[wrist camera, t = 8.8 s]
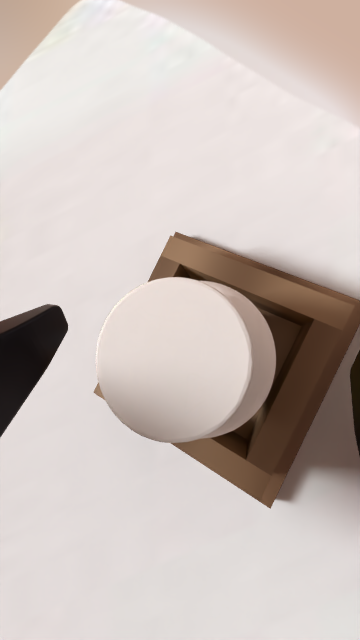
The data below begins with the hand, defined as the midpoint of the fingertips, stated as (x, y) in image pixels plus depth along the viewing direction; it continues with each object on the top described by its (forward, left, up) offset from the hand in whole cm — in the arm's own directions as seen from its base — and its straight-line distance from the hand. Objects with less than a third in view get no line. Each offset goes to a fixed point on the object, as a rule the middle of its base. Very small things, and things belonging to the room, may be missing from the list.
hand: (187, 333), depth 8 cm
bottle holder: (0, +1, -9) cm, 9 cm away
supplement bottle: (0, +1, -8) cm, 8 cm away
